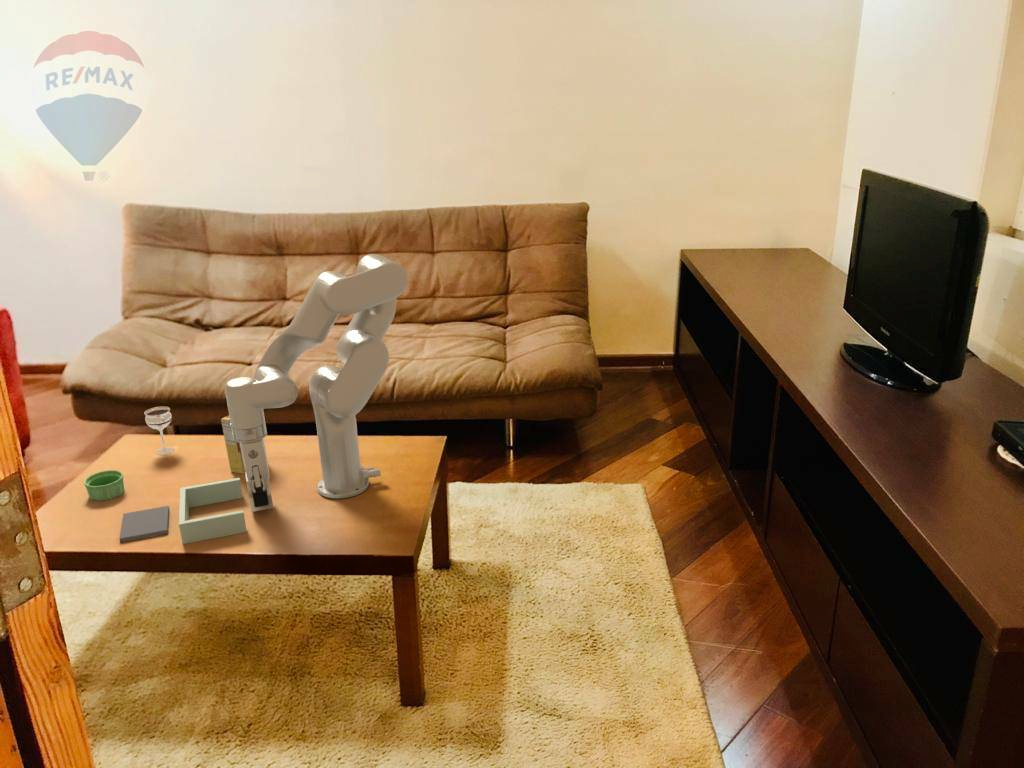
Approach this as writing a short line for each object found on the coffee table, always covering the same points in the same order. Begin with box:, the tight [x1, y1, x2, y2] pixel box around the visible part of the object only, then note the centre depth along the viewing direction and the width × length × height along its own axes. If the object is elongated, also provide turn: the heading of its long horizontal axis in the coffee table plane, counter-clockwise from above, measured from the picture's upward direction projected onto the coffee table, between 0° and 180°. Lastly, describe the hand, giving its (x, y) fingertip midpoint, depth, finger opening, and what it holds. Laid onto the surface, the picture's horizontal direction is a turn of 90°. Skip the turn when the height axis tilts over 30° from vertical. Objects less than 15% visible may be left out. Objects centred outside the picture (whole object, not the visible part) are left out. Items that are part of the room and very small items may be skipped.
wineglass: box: [143, 405, 175, 456], centre depth 232 cm, size 7×7×12 cm
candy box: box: [220, 414, 246, 475], centre depth 221 cm, size 9×4×15 cm, turn 156°
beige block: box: [244, 472, 274, 513], centre depth 199 cm, size 5×5×8 cm
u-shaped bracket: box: [178, 477, 247, 545], centre depth 197 cm, size 14×18×5 cm
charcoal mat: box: [118, 505, 170, 543], centre depth 196 cm, size 10×12×1 cm
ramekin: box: [83, 469, 125, 502], centre depth 211 cm, size 9×9×4 cm
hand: (260, 499), depth 200 cm, fingers closed on beige block, 5 cm apart
